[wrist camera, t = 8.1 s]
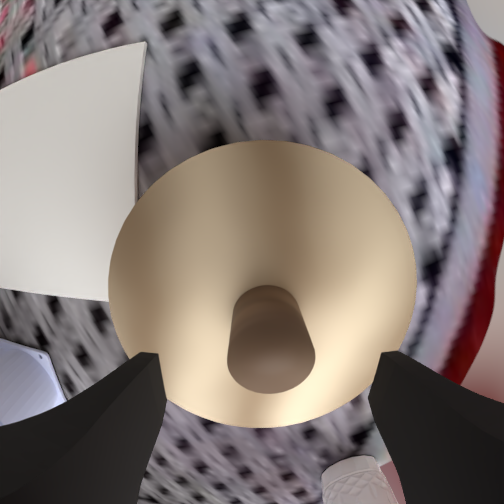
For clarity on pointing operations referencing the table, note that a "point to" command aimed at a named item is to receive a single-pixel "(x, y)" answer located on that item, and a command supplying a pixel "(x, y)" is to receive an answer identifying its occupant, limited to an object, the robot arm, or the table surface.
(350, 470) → the white cup
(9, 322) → the table surface
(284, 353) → the oak lid
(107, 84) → the white square mat
